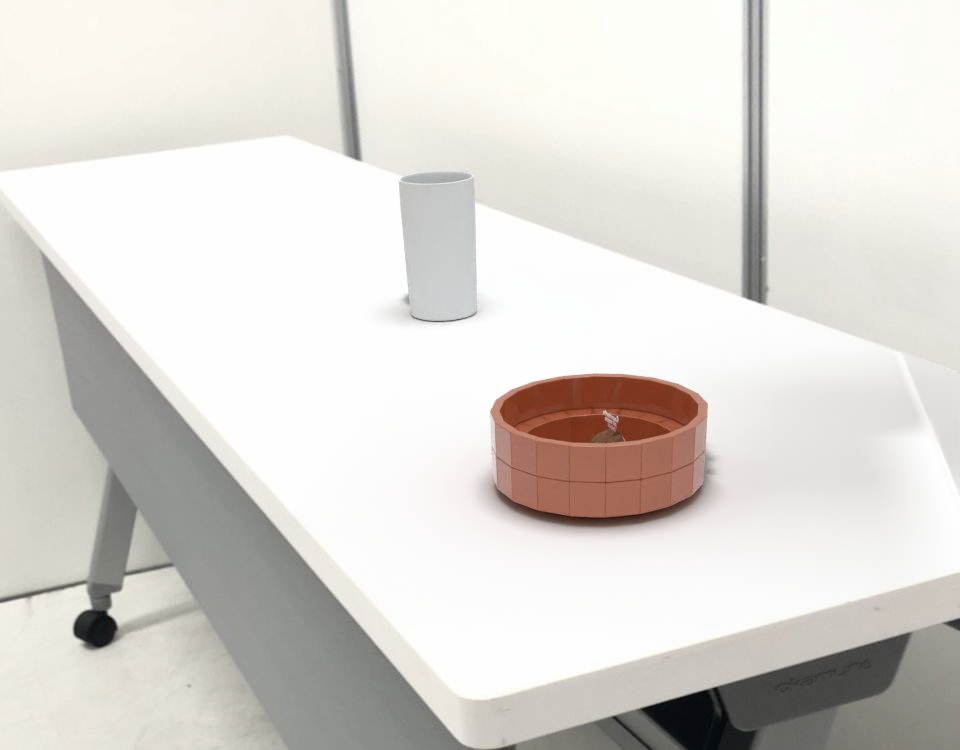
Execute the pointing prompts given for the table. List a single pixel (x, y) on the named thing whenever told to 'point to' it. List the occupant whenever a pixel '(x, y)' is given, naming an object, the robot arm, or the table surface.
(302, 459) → the table surface
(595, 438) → the chocolate
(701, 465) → the bowl
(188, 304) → the table surface
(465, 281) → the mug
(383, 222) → the table surface
